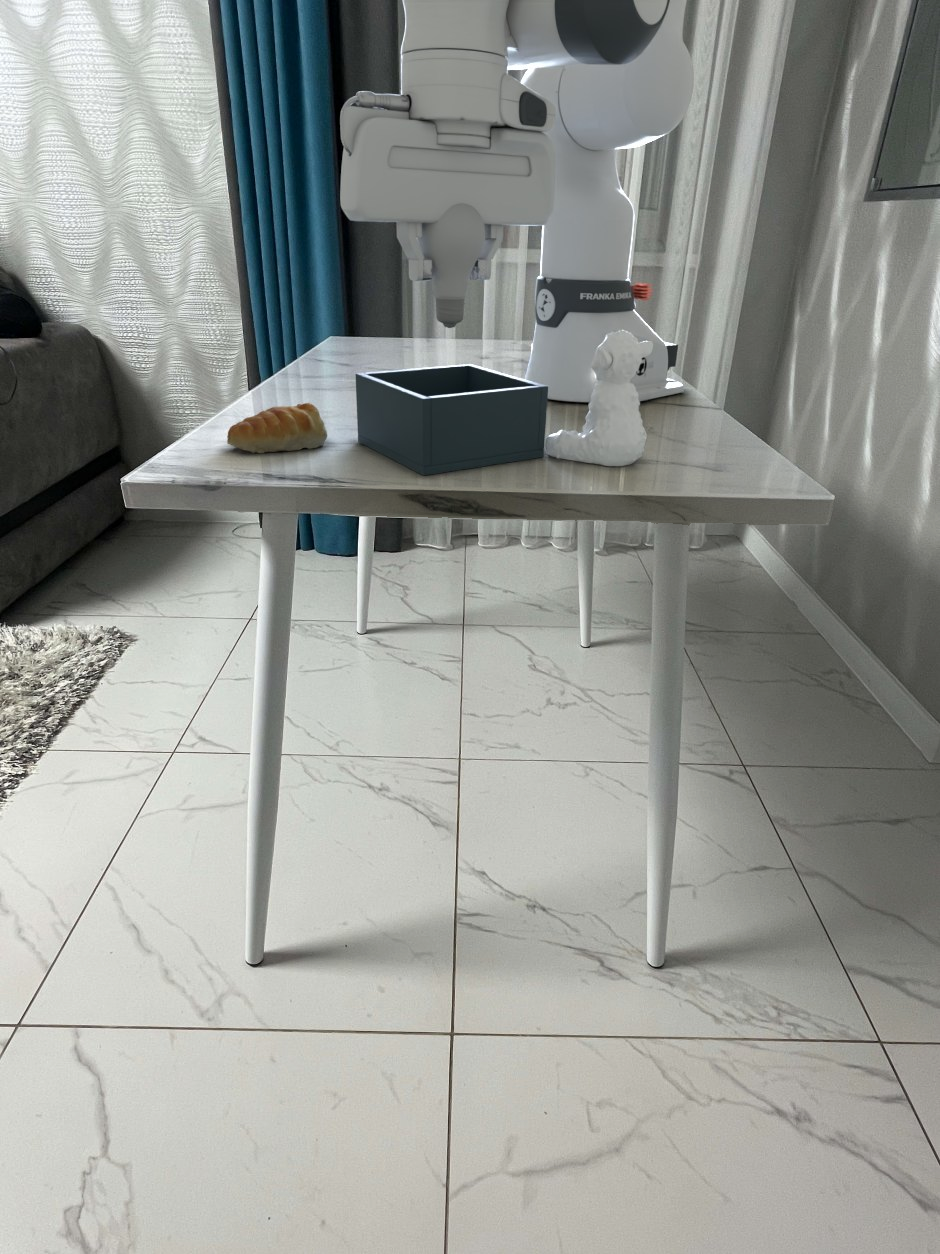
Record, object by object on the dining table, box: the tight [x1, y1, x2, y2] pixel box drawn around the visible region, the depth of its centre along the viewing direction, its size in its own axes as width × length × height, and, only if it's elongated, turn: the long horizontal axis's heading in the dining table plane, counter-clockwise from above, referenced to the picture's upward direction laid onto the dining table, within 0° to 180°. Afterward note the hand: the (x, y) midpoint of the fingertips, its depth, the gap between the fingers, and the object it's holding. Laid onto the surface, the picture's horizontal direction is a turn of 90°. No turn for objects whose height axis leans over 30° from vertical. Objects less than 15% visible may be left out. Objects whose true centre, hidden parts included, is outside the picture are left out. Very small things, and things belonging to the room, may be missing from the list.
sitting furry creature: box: [544, 330, 653, 467], centre depth 77 cm, size 10×9×12 cm
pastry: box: [226, 402, 328, 454], centre depth 80 cm, size 9×7×4 cm
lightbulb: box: [416, 203, 485, 329], centre depth 73 cm, size 6×6×11 cm
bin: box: [354, 363, 549, 476], centre depth 80 cm, size 14×14×7 cm
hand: (450, 280), depth 74 cm, fingers closed on lightbulb, 5 cm apart
